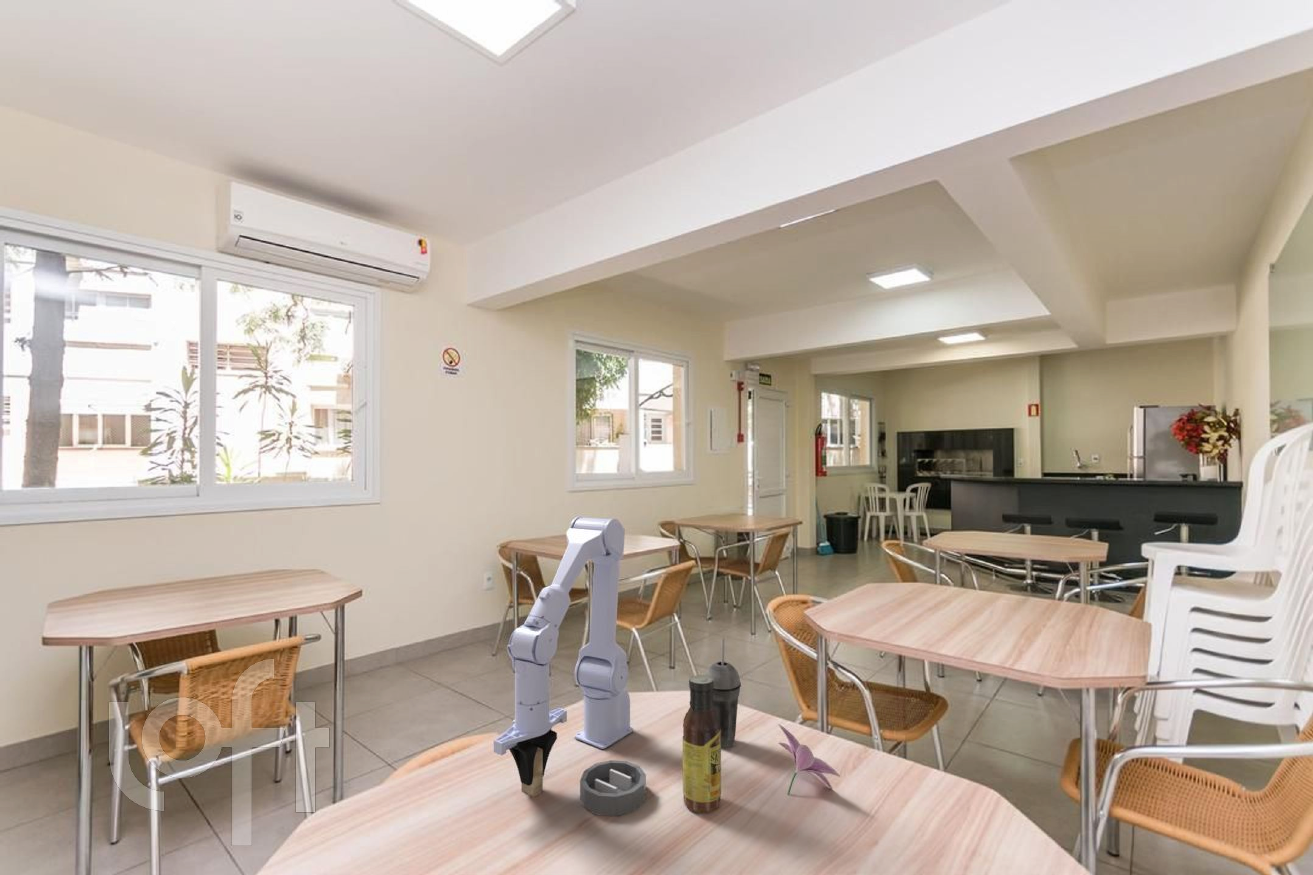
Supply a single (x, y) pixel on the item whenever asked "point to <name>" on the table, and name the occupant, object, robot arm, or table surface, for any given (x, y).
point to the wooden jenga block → (536, 776)
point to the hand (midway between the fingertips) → (532, 779)
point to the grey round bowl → (613, 788)
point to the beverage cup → (725, 698)
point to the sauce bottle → (701, 748)
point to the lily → (806, 759)
